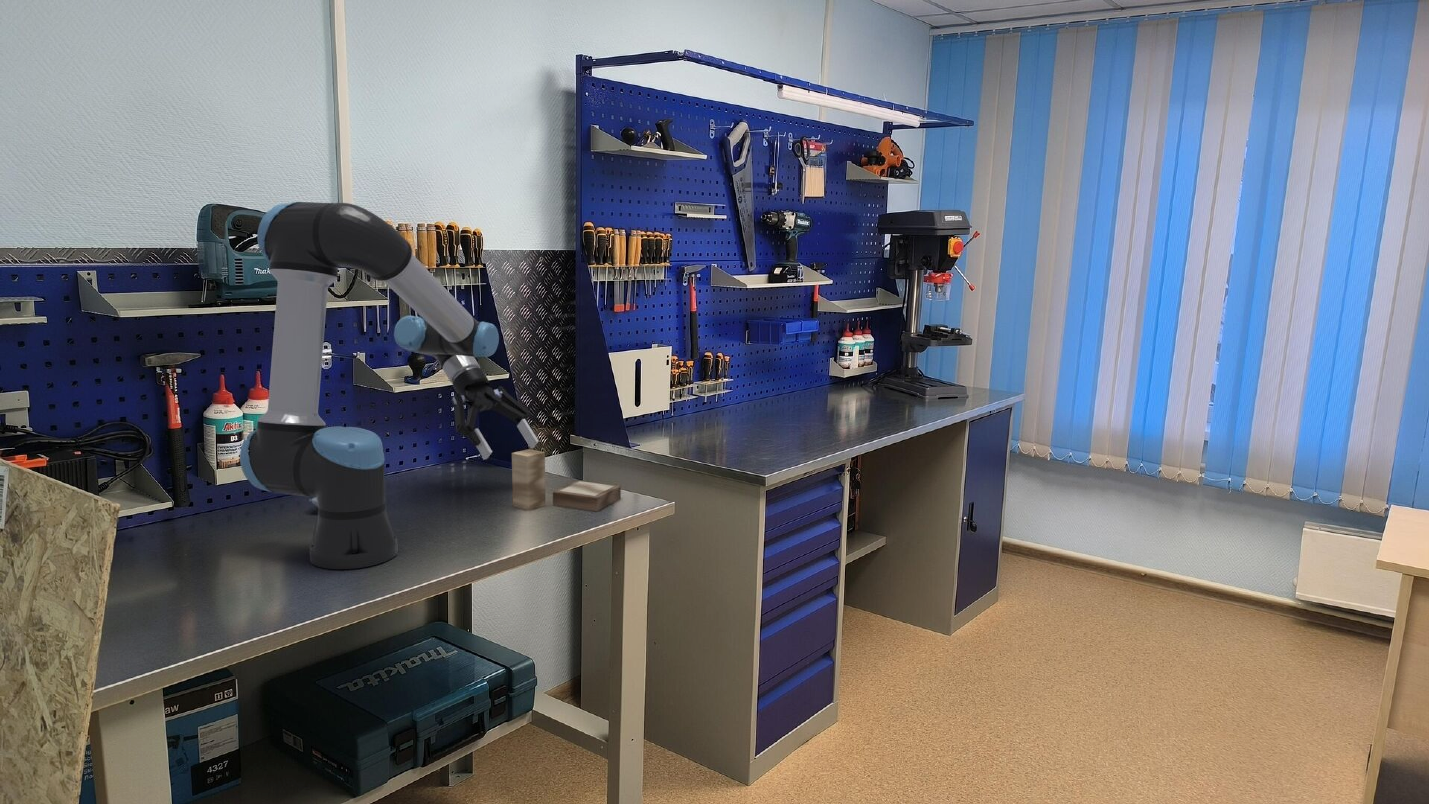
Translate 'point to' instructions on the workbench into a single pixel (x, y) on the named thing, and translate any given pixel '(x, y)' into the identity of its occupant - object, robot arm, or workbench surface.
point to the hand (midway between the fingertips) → (512, 450)
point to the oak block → (528, 479)
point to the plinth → (586, 495)
